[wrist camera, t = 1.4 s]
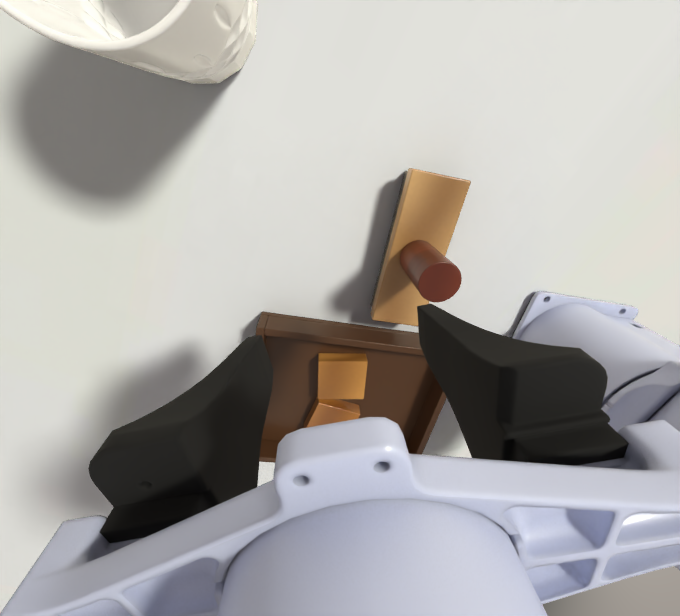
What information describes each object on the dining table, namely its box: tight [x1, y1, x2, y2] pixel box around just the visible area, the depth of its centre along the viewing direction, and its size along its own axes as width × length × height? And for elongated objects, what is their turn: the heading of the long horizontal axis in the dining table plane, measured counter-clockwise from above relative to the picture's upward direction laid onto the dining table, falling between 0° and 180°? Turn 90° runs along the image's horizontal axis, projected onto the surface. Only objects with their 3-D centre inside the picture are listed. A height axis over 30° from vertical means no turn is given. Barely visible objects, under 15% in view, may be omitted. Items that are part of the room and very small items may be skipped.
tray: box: [256, 312, 447, 463], centre depth 28 cm, size 16×14×2 cm
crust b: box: [303, 398, 360, 428], centre depth 29 cm, size 4×4×1 cm
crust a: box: [317, 353, 368, 399], centre depth 27 cm, size 4×4×1 cm
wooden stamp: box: [370, 168, 471, 326], centre depth 20 cm, size 4×10×7 cm, turn 169°
